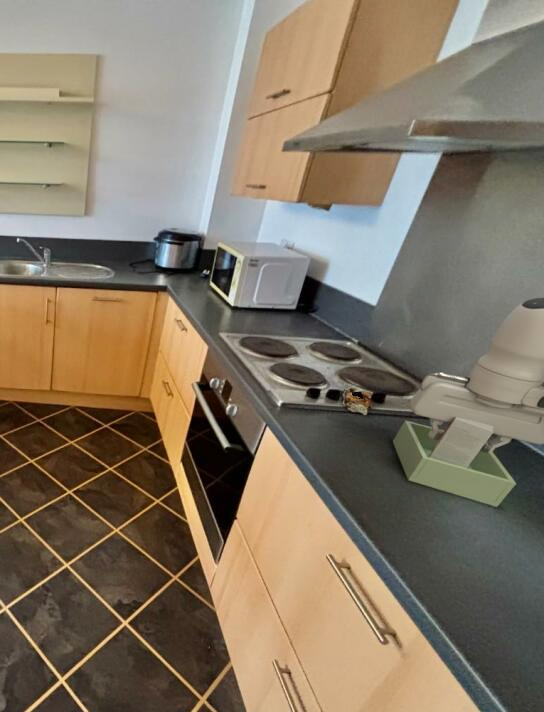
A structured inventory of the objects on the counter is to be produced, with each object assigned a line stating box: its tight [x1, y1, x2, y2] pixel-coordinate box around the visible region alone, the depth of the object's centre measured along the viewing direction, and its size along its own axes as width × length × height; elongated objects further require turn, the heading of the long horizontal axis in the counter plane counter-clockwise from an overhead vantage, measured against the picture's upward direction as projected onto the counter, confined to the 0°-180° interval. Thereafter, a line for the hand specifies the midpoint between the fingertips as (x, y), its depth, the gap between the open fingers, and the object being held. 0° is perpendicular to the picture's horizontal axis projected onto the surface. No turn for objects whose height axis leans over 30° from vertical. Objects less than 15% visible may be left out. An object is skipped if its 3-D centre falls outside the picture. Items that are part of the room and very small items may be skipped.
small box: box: [429, 417, 494, 468], centre depth 83 cm, size 8×6×10 cm
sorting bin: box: [392, 420, 517, 508], centre depth 85 cm, size 14×16×6 cm
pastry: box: [339, 385, 373, 416], centre depth 109 cm, size 7×12×4 cm, turn 154°
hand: (458, 444), depth 83 cm, fingers closed on small box, 6 cm apart
